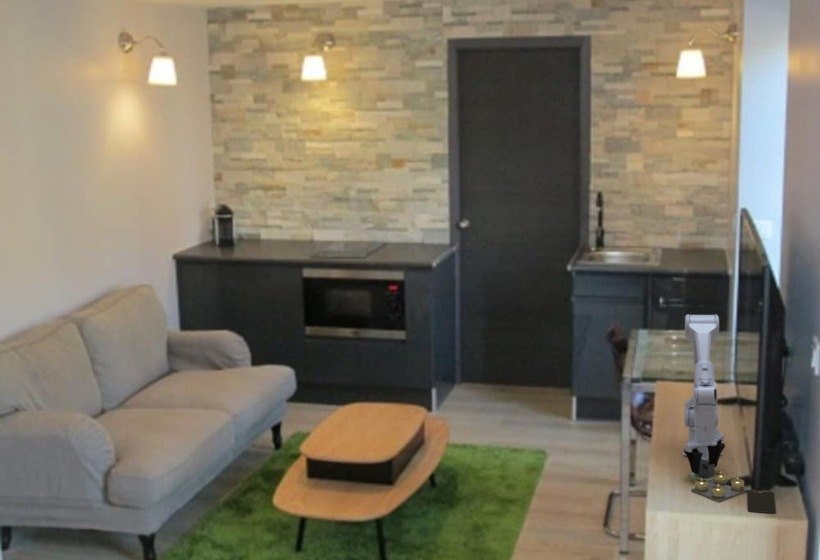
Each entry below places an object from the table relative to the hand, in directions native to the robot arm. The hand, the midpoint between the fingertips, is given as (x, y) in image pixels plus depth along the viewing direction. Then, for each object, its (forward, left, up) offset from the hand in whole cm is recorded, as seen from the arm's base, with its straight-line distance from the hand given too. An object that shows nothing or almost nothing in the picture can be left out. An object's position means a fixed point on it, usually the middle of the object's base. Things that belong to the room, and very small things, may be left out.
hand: (704, 469), depth 320 cm
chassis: (+5, +10, -2) cm, 11 cm away
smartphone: (+2, +22, -3) cm, 22 cm away
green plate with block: (0, 0, -3) cm, 3 cm away
